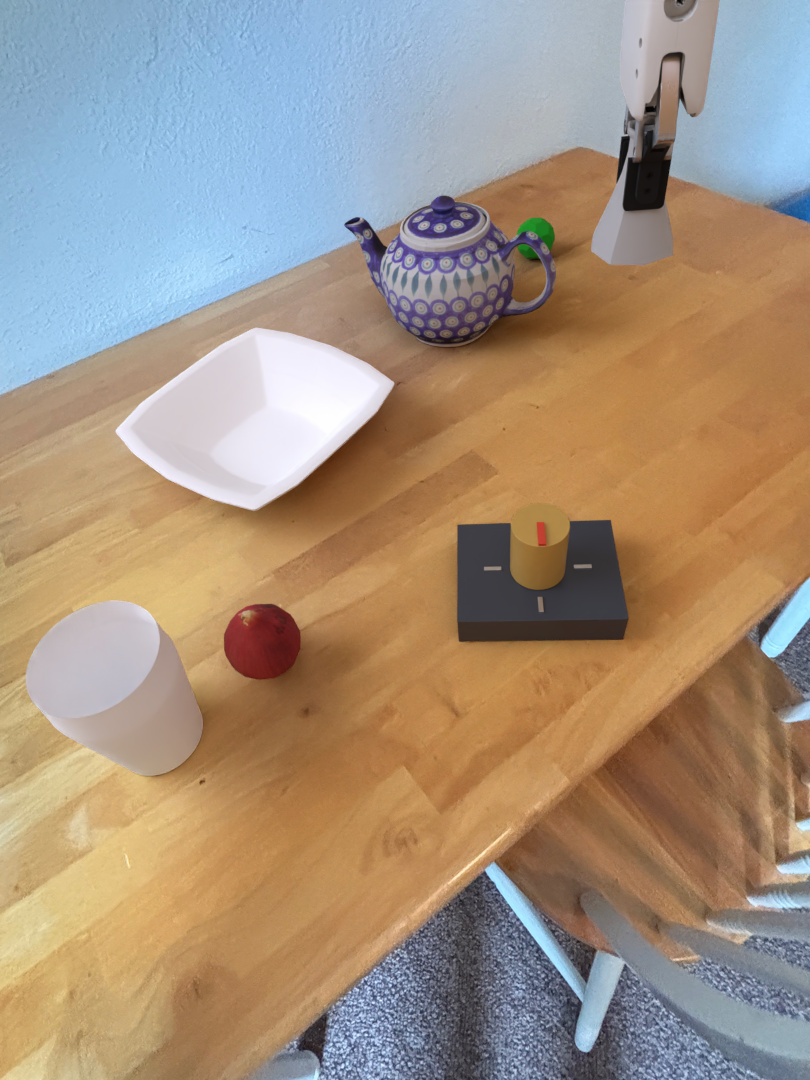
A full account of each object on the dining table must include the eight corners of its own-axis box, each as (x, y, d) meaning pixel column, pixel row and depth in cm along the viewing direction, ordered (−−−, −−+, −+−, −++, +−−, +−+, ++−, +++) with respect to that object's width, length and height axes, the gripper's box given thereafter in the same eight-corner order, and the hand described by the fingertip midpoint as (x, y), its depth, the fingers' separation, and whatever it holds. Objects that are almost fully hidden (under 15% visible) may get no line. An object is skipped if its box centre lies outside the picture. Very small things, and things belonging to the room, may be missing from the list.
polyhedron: (546, 268, 91) (548, 232, 88) (510, 262, 93) (510, 227, 89) (558, 248, 94) (560, 213, 90) (523, 244, 96) (524, 209, 92)
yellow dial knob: (509, 547, 59) (509, 500, 55) (562, 546, 59) (567, 498, 54) (511, 590, 56) (512, 544, 52) (567, 589, 56) (573, 543, 51)
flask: (580, 234, 65) (589, 114, 57) (659, 222, 65) (679, 100, 57) (601, 274, 60) (615, 150, 53) (686, 262, 60) (712, 135, 52)
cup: (159, 665, 59) (96, 580, 50) (242, 711, 55) (191, 629, 46) (78, 758, 54) (-7, 683, 45) (164, 815, 51) (90, 746, 42)
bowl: (117, 475, 74) (93, 435, 70) (270, 357, 85) (257, 316, 81) (267, 567, 64) (250, 526, 60) (419, 420, 75) (414, 376, 71)
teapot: (571, 306, 85) (582, 179, 74) (524, 381, 77) (529, 251, 66) (389, 273, 95) (374, 155, 83) (330, 337, 86) (305, 216, 75)
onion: (272, 624, 60) (246, 567, 54) (324, 655, 58) (303, 599, 52) (225, 675, 58) (192, 622, 51) (277, 710, 55) (248, 658, 49)
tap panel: (606, 541, 62) (611, 518, 60) (623, 639, 56) (629, 617, 53) (458, 545, 64) (457, 523, 61) (458, 641, 57) (457, 620, 55)
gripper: (776, -74, 39) (706, 243, 53) (713, -124, 50) (668, 151, 64) (636, -57, 40) (603, 250, 54) (604, -110, 51) (583, 159, 65)
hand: (639, 194), depth 59 cm, fingers closed on flask, 3 cm apart
